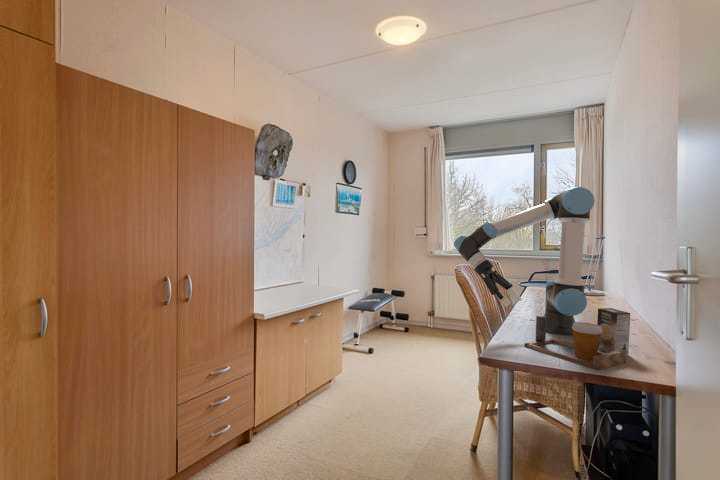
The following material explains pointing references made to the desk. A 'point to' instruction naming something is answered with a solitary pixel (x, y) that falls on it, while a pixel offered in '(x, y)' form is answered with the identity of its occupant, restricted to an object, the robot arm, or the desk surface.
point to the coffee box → (613, 330)
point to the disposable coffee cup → (586, 340)
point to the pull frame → (598, 361)
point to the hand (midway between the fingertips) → (514, 302)
